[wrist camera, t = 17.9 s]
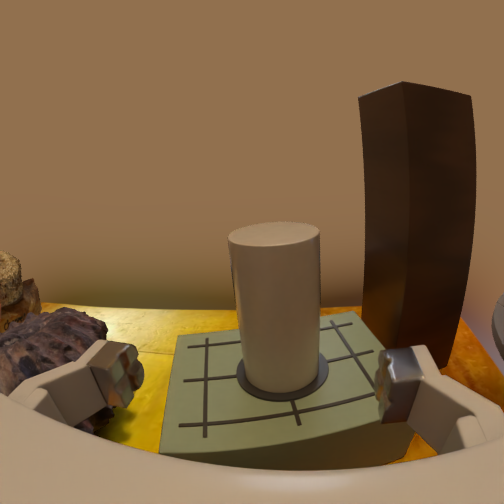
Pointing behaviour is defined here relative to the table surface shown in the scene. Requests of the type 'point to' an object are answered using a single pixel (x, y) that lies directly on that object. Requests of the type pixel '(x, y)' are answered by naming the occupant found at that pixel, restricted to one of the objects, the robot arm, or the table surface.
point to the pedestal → (417, 214)
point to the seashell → (50, 351)
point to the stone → (21, 306)
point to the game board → (280, 406)
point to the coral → (10, 279)
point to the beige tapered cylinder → (277, 302)
